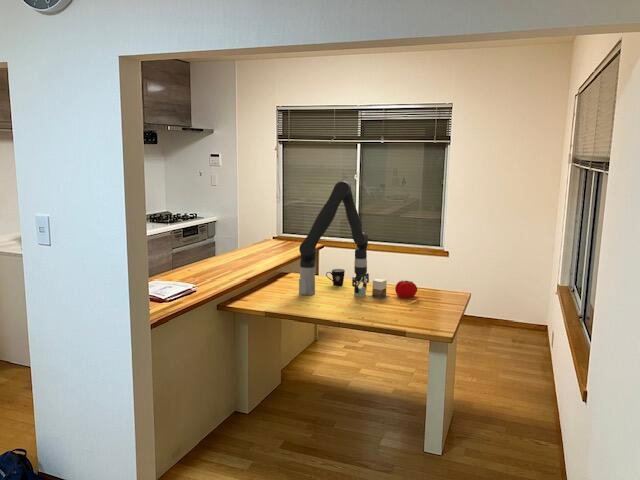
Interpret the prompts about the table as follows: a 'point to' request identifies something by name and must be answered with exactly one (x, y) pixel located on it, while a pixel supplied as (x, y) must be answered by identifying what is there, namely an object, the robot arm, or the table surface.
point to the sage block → (360, 291)
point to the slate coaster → (379, 298)
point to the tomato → (405, 289)
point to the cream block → (379, 284)
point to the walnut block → (378, 293)
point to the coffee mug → (337, 276)
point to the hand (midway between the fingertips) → (360, 291)
